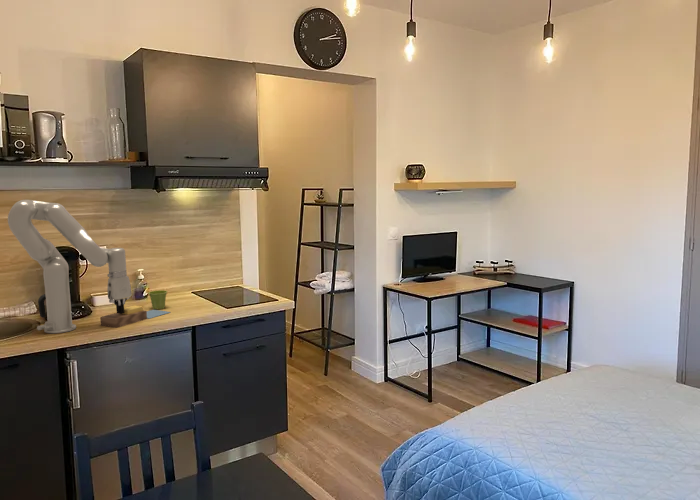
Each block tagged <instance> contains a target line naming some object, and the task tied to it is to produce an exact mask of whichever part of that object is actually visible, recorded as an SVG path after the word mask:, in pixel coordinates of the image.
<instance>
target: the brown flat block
mask: <svg viewBox="0 0 700 500" xmlns="http://www.w3.org/2000/svg"><path fill="white" fill-rule="evenodd" d="M99 320H100V326H103V327H108V328H112V329H113V328H115V329H117V328H120V327H125V326H127V325H130V324H135V323H137V322H138V323H139V322H142V321H145V320H148V319H147V310H144V309H143V311H140V312H136V313H132V314H128V315H127V314H119V313H117V312H114V313H111V314H106V315H101V316H100V319H99Z"/></svg>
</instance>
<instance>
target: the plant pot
mask: <svg viewBox="0 0 700 500" xmlns="http://www.w3.org/2000/svg"><path fill="white" fill-rule="evenodd" d="M167 293H168V290H164V289H163V290H161V289H159V290H152V291H148V292H147V295H149V297H150V303H151V307H152V310H162V309H165V307H166V299H167V298H166V297H167Z"/></svg>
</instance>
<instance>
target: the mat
mask: <svg viewBox="0 0 700 500" xmlns="http://www.w3.org/2000/svg"><path fill="white" fill-rule="evenodd" d="M146 311H147V310H146ZM167 314H171V311H165V310H161V309H150V310H148V311H147V319H146V320H151V319H153V318H157V317H160V316H163V315H167Z"/></svg>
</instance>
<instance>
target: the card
mask: <svg viewBox="0 0 700 500" xmlns="http://www.w3.org/2000/svg"><path fill="white" fill-rule="evenodd" d="M143 310H144V307H143V306H141V305H131V306H130V305H129V306H127V307H125V306H124V313H122V314H127V315H128V314H132V313H136V312H140V311H143Z"/></svg>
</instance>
